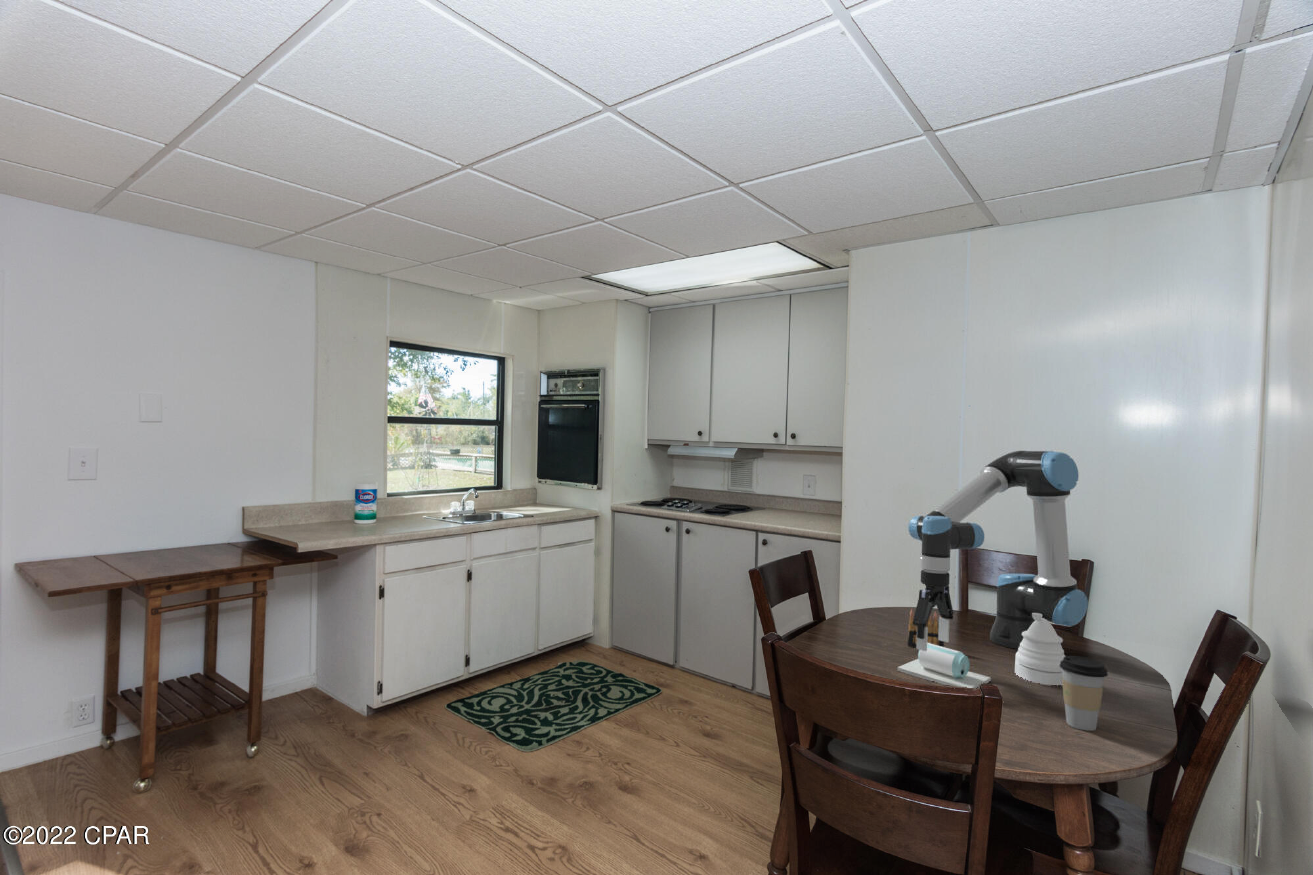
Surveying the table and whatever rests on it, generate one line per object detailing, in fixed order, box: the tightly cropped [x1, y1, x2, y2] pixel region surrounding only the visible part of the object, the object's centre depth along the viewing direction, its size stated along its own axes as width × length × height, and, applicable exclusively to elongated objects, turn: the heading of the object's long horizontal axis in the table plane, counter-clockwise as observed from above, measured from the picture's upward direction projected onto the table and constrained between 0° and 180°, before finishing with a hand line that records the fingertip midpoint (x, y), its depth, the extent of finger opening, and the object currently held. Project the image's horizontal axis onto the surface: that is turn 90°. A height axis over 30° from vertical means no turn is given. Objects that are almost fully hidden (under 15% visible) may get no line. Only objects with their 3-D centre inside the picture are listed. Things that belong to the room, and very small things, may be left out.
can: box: [917, 643, 970, 678], centre depth 180 cm, size 7×7×12 cm
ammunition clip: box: [906, 608, 945, 648], centre depth 205 cm, size 11×2×12 cm, turn 73°
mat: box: [897, 658, 992, 690], centre depth 180 cm, size 20×14×1 cm
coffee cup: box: [1059, 655, 1109, 732], centre depth 150 cm, size 9×9×15 cm
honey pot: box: [1014, 613, 1066, 687], centre depth 182 cm, size 13×13×18 cm
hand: (932, 645), depth 182 cm, fingers open, 13 cm apart
